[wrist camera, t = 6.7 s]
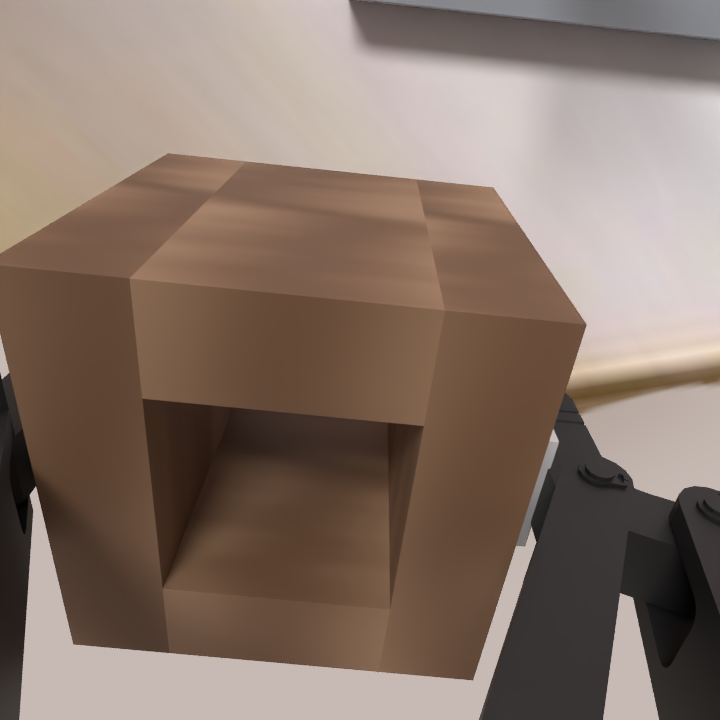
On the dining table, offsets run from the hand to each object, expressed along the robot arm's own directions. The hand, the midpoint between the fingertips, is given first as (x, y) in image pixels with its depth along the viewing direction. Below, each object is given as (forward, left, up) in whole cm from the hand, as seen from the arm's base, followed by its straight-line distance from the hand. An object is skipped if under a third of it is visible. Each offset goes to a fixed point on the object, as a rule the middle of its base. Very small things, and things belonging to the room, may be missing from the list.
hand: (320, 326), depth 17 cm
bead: (0, 0, 0) cm, 0 cm away
